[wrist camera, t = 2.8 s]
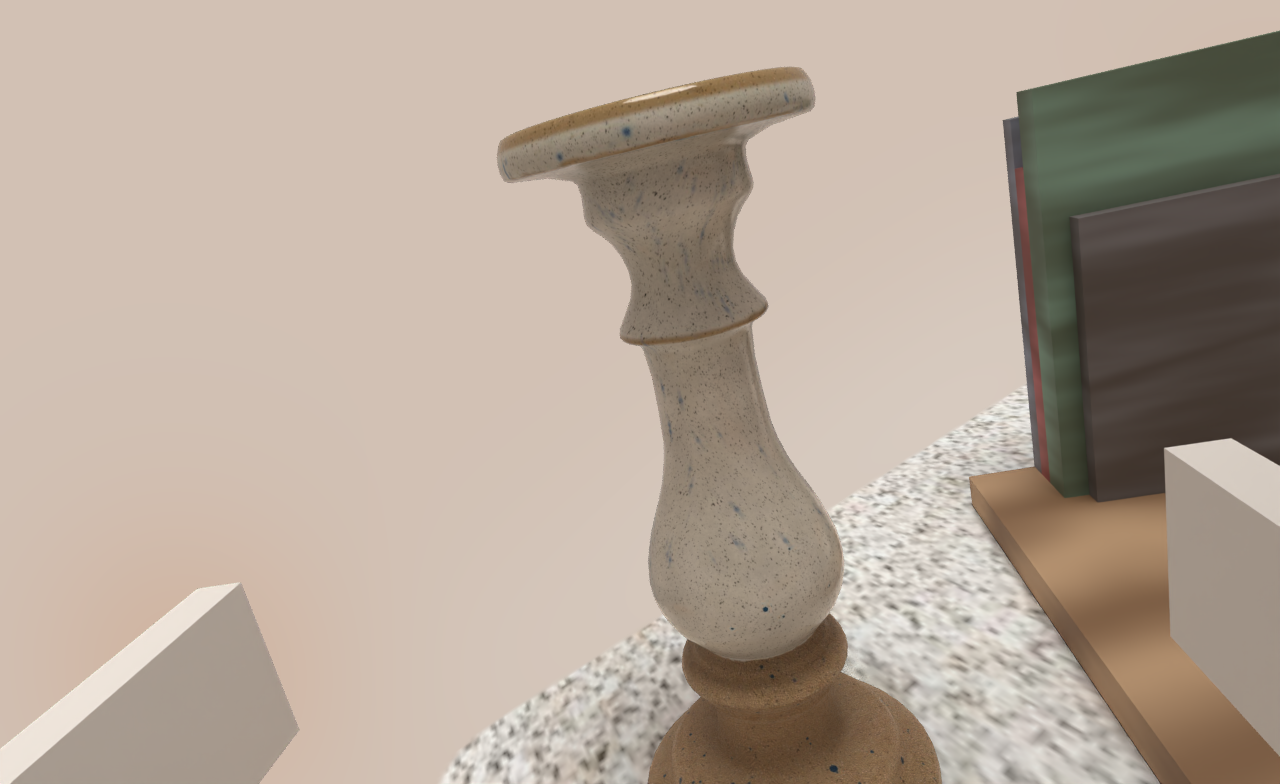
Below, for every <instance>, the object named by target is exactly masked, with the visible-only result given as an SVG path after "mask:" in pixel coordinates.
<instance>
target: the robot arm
mask: <svg viewBox="0 0 1280 784" xmlns="http://www.w3.org/2000/svg"><path fill="white" fill-rule="evenodd" d="M1164 461H1165V491H1166V520H1167V549H1168V579H1169V608H1170V636H1171V637H1172V638H1173V640H1174V641H1175V642H1176V643H1177V644H1178V645H1179V646H1180V647H1181V648H1182V649H1183V651H1184V652H1185V653H1186V654H1187V655H1188V656H1189V657H1190V658H1191V659H1192V660H1193V662H1194V663H1195V664H1196V665H1197V666H1198V667H1199V668H1200V669H1201V670H1202V671H1203V673H1204V674H1205V675H1206V676H1207V677H1208V678H1209V679H1210V680H1211V681H1212V682H1213V684H1214V685H1215V686H1216V687H1217V688H1218V689H1219V690H1220V691H1221V692H1222V693H1223V695H1224V696H1225V697H1226V698H1227V699H1228V700H1229V701H1230V702H1231V703H1232V704H1233V706H1234V707H1235V708H1236V709H1237V710H1238V711H1239V712H1240V713H1241V714H1242V716H1243V717H1244V718H1245V719H1246V720H1247V721H1248V722H1249V723H1250V724H1251V725H1252V727H1253V728H1254V729H1255V730H1256V731H1257V732H1258V733H1259V734H1260V735H1261V736H1262V738H1263V739H1264V740H1265V741H1266V742H1267V743H1268V744H1269V745H1270V746H1271V747H1272V749H1273V750H1274V751H1275V752H1276V753H1277V754H1278V755H1279V756H1280V466H1279V465H1277V464H1275V463H1274V462H1272V461H1270V460H1268V459H1267V458H1265V457H1263V456H1261V455H1260V454H1258V453H1256V452H1254V451H1253V450H1251V449H1249V448H1247V447H1246V446H1244V445H1242V444H1240V443H1239V442H1237V441H1235V440H1233V439H1232V438H1230V439H1223V440H1216V441H1209V442H1202V443H1195V444H1188V445H1181V446H1175V447H1168V448H1164ZM298 731H299V727H298V725H297V722H296V720H295V717H294V715H293V712H292V710H291V707H290V705H289V702H288V700H287V697H286V695H285V692H284V690H283V687H282V684H281V682H280V680H279V677H278V675H277V672H276V669H275V667H274V664H273V662H272V659H271V657H270V654H269V652H268V649H267V647H266V644H265V642H264V639H263V637H262V634H261V632H260V629H259V627H258V624H257V622H256V619H255V616H254V614H253V612H252V609H251V606H250V604H249V601H248V599H247V596H246V594H245V591H244V589H243V586H242V584H241V583H233V584H226V585H220V586H212V587H205V588H199V589H197V590H195V591H194V592H193V593H192V594H191V595H189V596H188V597H187V598H185V599H184V600H183V601H182V602H181V603H179V604H178V605H177V606H176V607H174V608H173V609H172V610H171V611H170V612H168V613H167V614H166V615H165V616H163V617H162V618H161V619H160V620H158V621H157V622H156V623H155V624H153V625H152V626H151V627H150V628H148V630H146V631H145V632H144V633H142V634H141V635H140V636H139V637H137V638H136V639H135V640H134V641H133V642H131V643H130V644H129V645H128V646H126V647H125V648H124V649H123V650H121V651H120V652H119V653H118V654H117V655H115V656H114V657H113V658H112V659H110V660H109V661H108V662H107V663H105V664H104V665H103V666H102V667H100V668H99V669H98V670H97V671H96V672H94V673H93V674H92V675H91V676H89V677H88V678H87V679H86V680H85V681H83V682H82V683H81V684H80V685H78V686H77V687H76V688H75V689H73V690H72V691H71V692H70V693H68V694H67V695H66V696H65V697H63V698H62V699H61V700H60V701H59V702H57V703H56V704H55V705H54V706H52V707H51V708H50V709H49V710H47V711H46V712H45V713H44V714H43V715H41V716H40V717H39V718H38V719H36V720H35V721H34V722H33V723H31V724H30V725H29V726H28V727H27V728H25V729H24V730H23V731H22V732H20V733H19V734H18V735H17V736H15V737H14V738H13V739H12V740H11V741H9V742H8V743H7V744H6V745H4V746H3V747H2V748H1V749H0V784H259V783H260V781H261V780H262V779H263V778H264V776H265V775H266V774H267V772H268V771H269V770H270V768H271V767H272V766H273V764H274V763H275V761H276V760H277V759H278V758H279V756H280V755H281V754H282V752H283V751H284V750H285V748H286V747H287V746H288V744H289V743H290V742H291V740H292V739H293V738H294V736H295V735H296V734H297V732H298Z"/></svg>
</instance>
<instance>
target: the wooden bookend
mask: <svg viewBox="0 0 1280 784" xmlns="http://www.w3.org/2000/svg"><path fill="white" fill-rule="evenodd" d="M1017 104H1018V115H1019V117H1014V118H1010V119H1006V120H1003V126H1004V138H1005V148H1006V158H1007V159H1006V160H1007V171H1008V182H1009V192H1010V203H1011V213H1012V225H1013V236H1014V246H1015V258H1016V268H1017V279H1018V290H1019V301H1020V312H1021V323H1022V334H1023V343H1024V355H1025V366H1026V377H1027V388H1028V399H1029V410H1030V421H1031V431H1032V442H1033V453H1034V464H1035V467H1030V468H1023V469H1017V470H1010V471H1004V472H997V473H991V474H984V475H978V476H971V477H969V480H970V488H971V497H972V505H973V506H974V508H975V509H976V511H977V512H978V514H979V515H980V517H981V518H982V520H983V521H984V523H985V524H986V526H987V527H988V528H989V530H990V531H991V533H992V534H993V536H994V537H995V539H996V540H997V542H998V543H999V545H1000V546H1001V548H1002V549H1003V551H1004V552H1005V554H1006V555H1007V557H1008V558H1009V560H1010V561H1011V562H1012V564H1013V565H1014V567H1015V568H1016V570H1017V571H1018V573H1019V574H1020V576H1021V577H1022V579H1023V580H1024V582H1025V583H1026V585H1027V586H1028V588H1029V589H1030V591H1031V592H1032V594H1033V595H1034V596H1035V598H1036V599H1037V601H1038V602H1039V604H1040V605H1041V607H1042V608H1043V610H1044V611H1045V613H1046V614H1047V616H1048V617H1049V619H1050V620H1051V622H1052V623H1053V625H1054V626H1055V628H1056V629H1057V630H1058V632H1059V633H1060V635H1061V636H1062V638H1063V639H1064V641H1065V642H1066V644H1067V645H1068V647H1069V648H1070V650H1071V651H1072V653H1073V654H1074V656H1075V657H1076V659H1077V660H1078V662H1079V663H1080V664H1081V666H1082V667H1083V669H1084V670H1085V672H1086V673H1087V675H1088V676H1089V678H1090V679H1091V681H1092V682H1093V684H1094V685H1095V687H1096V688H1097V690H1098V691H1099V693H1100V694H1101V696H1102V697H1103V698H1104V700H1105V701H1106V703H1107V704H1108V706H1109V707H1110V709H1111V710H1112V712H1113V713H1114V715H1115V716H1116V718H1117V719H1118V721H1119V722H1120V724H1121V725H1122V727H1123V728H1124V730H1125V731H1126V732H1127V734H1128V735H1129V737H1130V738H1131V740H1132V741H1133V743H1134V744H1135V746H1136V747H1137V749H1138V750H1139V752H1140V753H1141V755H1142V756H1143V758H1144V759H1145V761H1146V762H1147V764H1148V765H1149V766H1150V768H1151V769H1152V771H1153V772H1154V774H1155V775H1156V777H1157V778H1158V780H1159V781H1160V783H1161V784H1280V756H1279V755H1278V754H1277V753H1276V752H1275V751H1274V750H1273V749H1272V747H1271V746H1270V745H1269V744H1268V743H1267V742H1266V741H1265V740H1264V739H1263V738H1262V736H1261V735H1260V734H1259V733H1258V732H1257V731H1256V730H1255V729H1254V728H1253V727H1252V725H1251V724H1250V723H1249V722H1248V721H1247V720H1246V719H1245V718H1244V717H1243V716H1242V714H1241V713H1240V712H1239V711H1238V710H1237V709H1236V708H1235V707H1234V706H1233V704H1232V703H1231V702H1230V701H1229V700H1228V699H1227V698H1226V697H1225V696H1224V695H1223V693H1222V692H1221V691H1220V690H1219V689H1218V688H1217V687H1216V686H1215V685H1214V684H1213V682H1212V681H1211V680H1210V679H1209V678H1208V677H1207V676H1206V675H1205V674H1204V673H1203V671H1202V670H1201V669H1200V668H1199V667H1198V666H1197V665H1196V664H1195V663H1194V662H1193V660H1192V659H1191V658H1190V657H1189V656H1188V655H1187V654H1186V653H1185V652H1184V651H1183V649H1182V648H1181V647H1180V646H1179V645H1178V644H1177V643H1176V642H1175V641H1174V640H1173V638H1172V637H1171V636H1170V608H1169V579H1168V549H1167V520H1166V491H1165V461H1164V448H1168V447H1175V446H1181V445H1188V444H1195V443H1202V442H1209V441H1216V440H1223V439H1230V438H1232V439H1233V440H1235V441H1237V442H1239V443H1240V444H1242V445H1244V446H1246V447H1247V448H1249V449H1251V450H1253V451H1254V452H1256V453H1258V454H1260V455H1261V456H1263V457H1265V458H1267V459H1268V460H1270V461H1272V462H1274V463H1275V464H1277V465H1279V466H1280V31H1276V32H1272V33H1268V34H1263V35H1259V36H1255V37H1250V38H1246V39H1242V40H1238V41H1233V42H1230V43H1225V44H1221V45H1216V46H1212V47H1208V48H1204V49H1199V50H1195V51H1191V52H1187V53H1182V54H1178V55H1174V56H1169V57H1165V58H1161V59H1156V60H1152V61H1148V62H1144V63H1140V64H1135V65H1131V66H1127V67H1123V68H1118V69H1114V70H1110V71H1105V72H1101V73H1097V74H1093V75H1088V76H1084V77H1080V78H1075V79H1071V80H1067V81H1062V82H1058V83H1054V84H1050V85H1045V86H1041V87H1037V88H1033V89H1028V90H1024V91H1020V92H1017Z"/></svg>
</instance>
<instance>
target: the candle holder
mask: <svg viewBox="0 0 1280 784" xmlns="http://www.w3.org/2000/svg"><path fill="white" fill-rule="evenodd" d="M814 104H815V93H814V88H813V85H812V82H811V80H810V78H809V77H808V75H807V73H805V71H804V70H803V69H802V68H799V67H780V68H771V69H764V70H758V71H751V72H746V73H740V74H734V75H729V76H724V77H719V78H714V79H709V80H704V81H700V82H695V83H690V84H686V85H682V86H677V87H673V88H668V89H664V90H660V91H656V92H652V93H648V94H643V95H639V96H635V97H631V98H628V99H623V100H620V101H616V102H612V103H608V104H604V105H601V106H597V107H593V108H590V109H587V110H583V111H579V112H576V113H573V114H569V115H565V116H562V117H559V118H556V119H553V120H549V121H546V122H543V123H540V124H537V125H534V126H531V127H528V128H526V129H523V130H520V131H518V132H515V133H513V134H511V135H509V136H507V137H506V138H504V139H503V140H501V141H500V143H499V146H498V153H497V163H498V168H499V172H500V175H501V177H502V178H503V180H504V181H505V182H508V183H514V182H523V181H531V180H539V179H547V178H548V179H557V180H565V181H573V182H574V183H575V184H577V185H578V188H579V191H580V194H581V197H582V203H583V211H584V218H585V222H586V224H587V226H588V227H589V228H591V229H592V230H593V231H594V232H596V233H597V234H599V235H600V236H602V237H603V238H605V239H606V240H607V241H609V243H611V244H612V245H613V246H614V248H615V249H616V250H617V252H618V253H619V254H620V256H621V257H622V259H623V261H624V263H625V264H626V267H627V269H628V271H629V274H630V279H631V283H632V286H631V299H630V302H629V305H628V308H627V311H626V314H625V317H624V320H623V323H622V326H621V328H620V338H621V339H622V340H623V341H624V342H626V343H628V344H631V345H638V346H641V348H642V349H643V351H644V354H645V357H646V360H647V363H648V366H649V369H650V373H651V376H652V380H653V385H654V390H655V395H656V400H657V405H658V410H659V416H660V422H661V429H662V435H663V441H664V467H663V480H662V487H661V492H660V497H659V501H658V505H657V509H656V513H655V518H654V523H653V528H652V532H651V540H650V547H649V560H648V561H649V562H648V564H649V577H650V585H651V588H652V592H653V595H654V598H655V600H656V603H657V605H658V606H659V608H660V610H661V611H662V613H663V615H664V616H665V618H666V619H667V620H668V621H669V623H670V624H671V625H672V626H673V627H674V628H675V629H676V630H677V631H678V632H679V633H680V634H682V635H683V636H684V637H685V638H687V641H686V644H685V647H684V650H683V656H682V668H683V672H684V675H685V677H686V680H687V682H688V683H689V685H690V686H691V687H692V689H693V690H694V691H695V692H696V693H698V694H699V695H700V696H701V697H700V698H699V699H698V700H697V701H696V702H695V703H694V704H693V705H692V706H691V708H690V709H688V710H687V711H686V712H685V713H684V714H683V715H682V716H681V717H680V718H679V719H678V720H677V721H676V722H675V723H674V724H673V726H672V727H671V728H670V729H669V731H668V732H667V733H666V735H665V736H664V737H663V739H662V741H661V743H660V745H659V747H658V749H657V750H656V752H655V755H654V758H653V761H652V764H651V767H650V772H649V779H648V784H942V780H941V771H940V766H939V762H938V759H937V755H936V752H935V749H934V746H933V744H932V742H931V740H930V738H929V736H928V734H927V733H926V731H925V729H924V727H923V726H922V725H921V723H920V722H919V721H918V720H917V719H916V717H915V716H914V715H913V714H912V713H911V712H910V711H909V710H908V709H907V708H906V707H905V706H903V705H902V704H901V703H900V702H899V701H898V700H896V699H894V698H893V697H891V696H890V695H888V694H887V693H885V692H884V691H882V690H880V689H878V688H875V687H873V686H871V685H869V684H867V683H865V682H862V681H859V680H857V679H855V678H853V677H850V676H848V675H846V674H844V673H842V672H841V670H842V668H843V666H844V665H845V661H846V658H847V649H848V644H847V639H846V635H845V633H844V631H843V629H842V627H841V625H840V624H839V623H838V622H837V621H836V619H835V618H834V617H833V616H832V615H831V614H829V613H830V611H831V610H832V608H833V607H834V605H835V602H836V600H837V597H838V595H839V592H840V589H841V586H842V582H843V573H844V556H843V549H842V545H841V541H840V538H839V535H838V533H837V530H836V527H835V525H834V524H833V522H832V520H831V518H830V516H829V514H828V513H827V511H826V509H825V508H824V506H823V505H822V503H821V501H820V500H819V498H818V496H817V495H816V494H815V492H814V491H813V490H812V488H811V487H810V485H809V484H808V483H807V481H806V480H805V479H804V478H803V476H801V474H800V472H799V471H798V470H797V469H796V467H795V466H794V464H793V463H792V461H791V460H790V458H789V457H788V455H787V454H786V452H785V450H784V448H783V446H782V444H781V442H780V441H779V439H778V437H777V434H776V432H775V430H774V427H773V424H772V422H771V419H770V416H769V412H768V408H767V404H766V400H765V397H764V393H763V389H762V385H761V380H760V376H759V372H758V367H757V362H756V358H755V353H754V343H753V334H752V323H753V321H754V320H756V319H758V318H759V317H761V316H762V315H763V314H764V313H765V312H766V310H767V309H768V303H767V300H766V298H765V297H764V296H763V295H762V294H761V293H760V292H759V291H758V290H757V289H756V288H755V287H754V286H753V285H752V284H751V282H750V281H749V280H748V279H747V278H746V277H745V276H744V275H743V273H742V272H741V270H740V268H739V266H738V264H737V262H736V260H735V255H734V250H733V235H734V229H735V224H736V220H737V216H738V214H739V212H740V210H741V208H742V206H743V204H744V203H745V201H746V200H747V198H748V197H749V195H750V193H751V191H752V189H753V179H752V175H751V172H750V169H749V166H748V162H747V158H746V148H745V146H746V144H747V142H748V140H749V139H750V138H752V137H754V136H755V135H757V134H758V133H760V132H761V131H763V130H764V129H766V128H768V127H769V126H771V125H773V124H776V123H779V122H782V121H785V120H787V119H790V118H793V117H796V116H798V115H801V114H804V113H807V112H809V111H811V110H812V109H813V108H814V106H815V105H814Z"/></svg>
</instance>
